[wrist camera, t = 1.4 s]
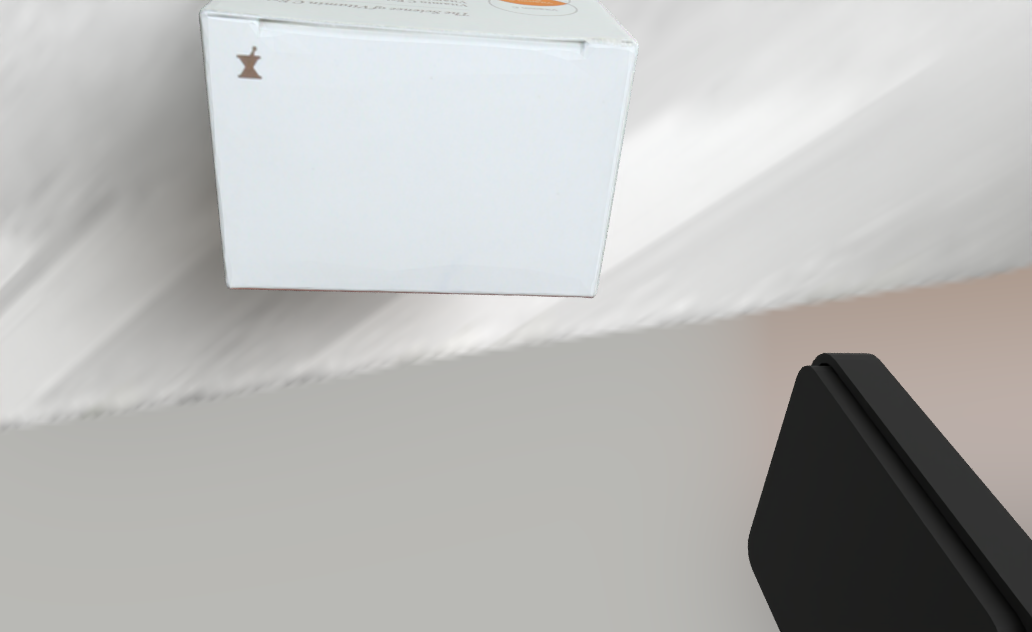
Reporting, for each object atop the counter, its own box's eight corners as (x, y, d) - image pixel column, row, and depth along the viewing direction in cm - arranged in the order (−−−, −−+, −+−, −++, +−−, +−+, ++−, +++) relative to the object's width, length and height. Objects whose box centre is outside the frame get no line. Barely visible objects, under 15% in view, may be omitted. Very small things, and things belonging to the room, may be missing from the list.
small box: (282, 124, 26) (212, 295, 17) (273, -74, 23) (184, 7, 14) (541, 140, 27) (601, 308, 18) (562, -49, 24) (646, 42, 15)
